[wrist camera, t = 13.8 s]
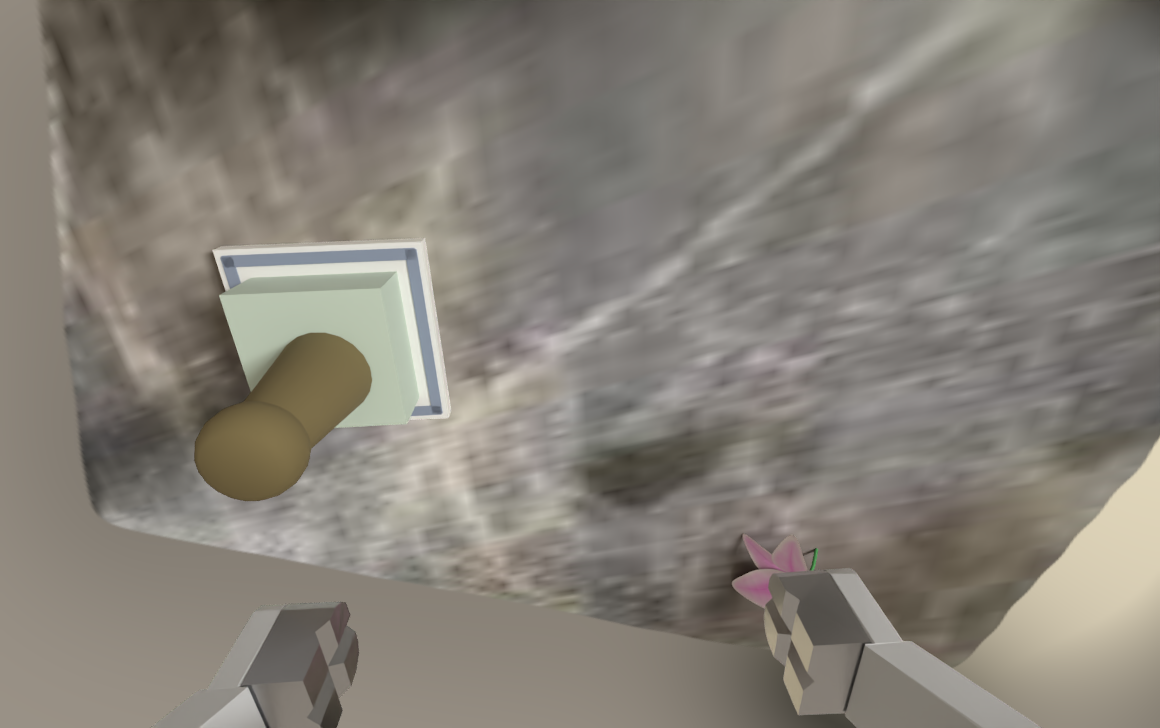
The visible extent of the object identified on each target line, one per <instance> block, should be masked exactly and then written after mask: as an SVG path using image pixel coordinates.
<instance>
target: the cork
mask: <svg viewBox="0 0 1160 728" xmlns="http://www.w3.org/2000/svg"><path fill="white" fill-rule="evenodd" d="M371 384H372V376H371V370H370V366H369V364H368V363H367V361H366V359H365V357H364V355H363V354H362V353H361V352H360V351H359V350H358V349H357V348H356V347H355V346H354V345H353V344H351V343H350V342H348V341H346V340H345V339H343V338H341V337H339V336H336V335H332V334H328V333H307V334H304V335H301V336H298V337H296V338H295V339H294V340H292V341H291V342H290V343H289V344H287V345H286V347H285V348H284V349H283V351H282V352H281V353H280V355H279V356H278V357H277V359H276V360H275V361H274V363H273V364H272V365H271V367H270V368H269V369H268V370H267V372H266V373H265V374H264V376H263V377H262V378H261V380H260V381H259V382H258V384H257V385H256V386H255V388H254V389H253V390H252V392H251V393H250V394H249V395H248V397H247V398H246V399H245V401H244V402H242V403H238V404H235V405H232V406H230V407H227V408H224V409H222V410H221V411H220V412H219V413H217V414H216V415H215V416H214V417H212V418H211V419H210V420H209V421H207V422H206V423H205V424H204V426H203V428H202V430H201V431H200V433H199V435H198V437H197V439H196V441H195V453H194V461H195V463H196V466H197V469H198V472H199V473H200V475H201V476H202V477H203V479H204V480H205V481H206V483H208V484H209V485H210V486H211V487H213V488H214V489H215V490H216V491H218V492H220V493H222V494H224V495H226V496H228V497H230V498H234V499H238V500H243V501H260V500H265V499H268V498H272V497H275V496H278V495H280V494H282V493H283V492H284V491H286V490H287V489H289V488H290V487H291V486H293V485H294V484H296V483H297V481H298V480H299V478H300V477H301V475H302V474H303V472H304V471H305V469H306V467H307V466H308V462H309V459H310V452H311V448H313V447H314V446H315V445H316V444H317V443H318V442H319V441H320V440H321V439H323V438H324V437H325V436H326V435H327V434H328V433H329V432H330V431H331V430H333V429H334V428H335V427H336V426H337V425H338V424H339V423H340V422H341V421H343V420H344V419H345V418H346V417H347V416H348V415H349V414H350V413H351V412H353V411H354V410H355V409H356V408H357V407H358V406H359V405H360V404H362V403H363V402H364V400H365V399H366V397H367V396H368V394H369V392H370V389H371Z"/></svg>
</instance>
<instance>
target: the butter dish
mask: <svg viewBox="0 0 1160 728" xmlns="http://www.w3.org/2000/svg"><path fill="white" fill-rule="evenodd" d="M213 253H214V256H215V260H216V263H217V266H218V269H219V272H220V275H221V278H222V281H223V284H224V287H225V291H226V292H224V293H222V294H221V295H219V297H220V300H221V303H222V306H223V309H224V312H225V315H226V318H227V321H228V324H229V327H230V330H231V333H232V336H233V339H234V342H235V346H236V349H237V352H238V355H239V358H240V361H241V364H242V367H243V370H244V373H245V376H246V379H247V382H248V385H249V388H250V391H251V392H252V390H253V389H254V388H255V386H256V385H257V384H258V382H259V381H260V380H261V378H262V377H263V376H264V374H265V373H266V372H267V370H268V369H269V368H270V367H271V365H272V364H273V363H274V361H275V360H276V359H277V357H278V356H279V355H280V353H281V352H282V351H283V349H284V348H285V347H286V345H287V344H289V343H290V342H291V341H292V340H294V339H295V338H296V337H298V336H301V335H304V334H307V333H328V334H332V335H336V336H339V337H341V338H343V339H345V340H346V341H348V342H350V343H351V344H353V345H354V346H355V347H356V348H357V349H358V350H359V351H360V352H361V353H362V354H363V355H364V357H365V359H366V361H367V363H368V364H369V366H370V370H371V376H372V384H371V389H370V392H369V394H368V396H367V397H366V399H365V400H364V402H363V403H362V404H360V405H359V406H358V407H357V408H356V409H355V410H354V411H353V412H351V413H350V414H349V415H348V416H347V417H346V418H345V419H344V420H343V421H341V422H340V423H339V424H338V425H337V426H336V427H335V428H342V427H361V426H380V425H399V424H407V423H408V421H409V420H420V419H439V418H449V416H450V413H451V405H450V398H449V392H448V385H447V379H446V372H445V366H444V359H443V353H442V346H441V339H440V333H439V326H438V320H437V313H436V307H435V300H434V293H433V287H432V280H431V274H430V267H429V261H428V254H427V247H426V241H425V238H409V239H384V240H360V241H336V242H312V243H287V244H263V245H239V246H221V247H219V248H217V249H214V250H213Z"/></svg>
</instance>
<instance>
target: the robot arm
mask: <svg viewBox="0 0 1160 728" xmlns="http://www.w3.org/2000/svg"><path fill="white" fill-rule="evenodd" d="M768 589H769V591H770V593H771V596H772V599H771V600H770V601H769V602H768V603H767V604H765V612H764V623H765V632H766V636H767V640H768V643H769V646H770V649H771V651H772V654H773V656H774V657H775V658H776V659H777V660H778V661H780V662H781V663H782V664H783V665H784V666H785V673H784V678H783V680H784V682H785V685H786V687H787V690H788V692H789V695H790V697H791V699H792V702H793V704H794V707H795V709H796V711H797V714H798V715H812V714H813V715H814V714H835V713H846V714H845V716H846V717H847V718H848V719H849V720H850V721H851V722H852V723H853V724H854V725H855V726H856V727H857V728H1042V727H1040V726H1039V725H1037V724H1036V723H1034V722H1033V721H1031V720H1030V719H1028V718H1027V717H1025V716H1023V715H1022V714H1021V713H1019V712H1017V711H1016V710H1015V709H1013V708H1012V707H1010V706H1008V705H1007V704H1005V703H1004V702H1002V701H1001V700H999V699H998V698H996V697H995V696H993V695H992V694H990V693H989V692H987V691H986V690H984V689H983V688H981V687H980V686H978V685H977V684H975V683H974V682H972V681H971V680H969V679H968V678H966V677H965V676H963V675H962V674H960V673H959V672H957V671H956V670H954V669H953V668H951V667H950V666H948V665H947V664H945V663H944V662H942V661H941V660H939V659H937V658H936V657H934V656H933V655H931V654H930V653H928V652H927V651H925V650H924V649H922V648H921V647H919V646H918V645H916V644H915V643H913V642H912V641H902V639H901V638H900V636H899V635H898V633H897V632H896V630H895V629H894V627H893V626H892V624H891V623H890V622H889V620H888V619H887V617H886V616H885V614H884V613H883V611H882V610H881V608H880V607H879V605H878V604H877V602H876V601H875V600H874V598H873V597H872V595H871V594H870V592H869V591H868V589H867V588H866V586H865V585H864V583H863V582H862V580H861V579H860V577H859V576H858V575H857V573H856V572H855V571H854V570H852V569H851V568H843V569H828V570H811V571H798V572H785V573H773V574H772V576H771V577H770V579H769V585H768ZM349 617H350V613H349V610H348V607H347V604H346V603H345V602H324V603H300V604H299V603H298V604H281V605H261V606H260V607H259V608H258V609H256V610H255V611H254V612H253V613H252V615H251V616H250V618H249V620H248V621H247V623H246V625H245V626H244V628H243V630H242V631H241V633H240V635H239V637H238V638H237V640H236V641H235V643H234V645H233V647H232V648H231V650H230V652H229V653H228V655H227V656H226V658H225V660H224V662H223V663H222V665H221V667H220V668H219V670H218V671H217V673H216V675H215V676H214V678H213V680H212V681H211V683H210V685H209V687H208V688H207V689H204V690H197V691H196V692H195V693H194V694H193V695H191V696H190V697H189V698H187V699H186V700H185V701H184V702H182V703H181V704H180V705H179V706H177V707H176V708H175V709H173V710H172V711H171V712H169V713H168V714H167V715H166V716H164V717H163V718H162V719H161V720H159V721H158V722H157V723H156V724H154V725H153V726H152V727H151V728H337V726H338V722H339V720H340V717H341V714H342V707H341V704H340V701H339V698H340V697H341V696H342V695H343V694H344V693H345V692H346V691H347V690H348V689H349V688H350V687H351V685H352V682H353V679H354V676H355V673H356V669H357V662H358V656H359V648H358V639H357V636H356V633H355V631H354V630H352V629H351V628H350V627H348V626H347V622H348V620H349Z"/></svg>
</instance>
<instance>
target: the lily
mask: <svg viewBox="0 0 1160 728" xmlns="http://www.w3.org/2000/svg"><path fill="white" fill-rule="evenodd" d="M743 539H744V543H745V545H746V547H747V550H748V552H749V554H750V556H751V558H752V560H753V561H754V563H755V565H756V566H757V568H758V569H759V570H754V571H751V572H749V573H747V574H744V575H742V576H740V577H738V578H736V579H735V580H733V581H732V586H733V588H734V589H735V590H736V591H737V592H739V593H740V594H741V595H743V596H744V597H745V598H747V599H748V600H750V601H752V602H753V603H755V604H757V605H759V606H761V607H763V608H765V604H767V603H768V602H769V601H770V600H771V599H772V596H771V593H770V591H769V589H768V585H769V579H770V577H771V576H772V574H773V573H785V572H798V571H808V570H807V567H806V564H805V561H804V557H803V554H802V551H801V548H800V545H799V543H798V540H797V538H796V537H795V536H794V535H789V536H788V537H786V538H785V539H784V540H783V541H782V542H781V543H780V544H779V546H778V547H777V548H776V549H775V551H774V552H773V554H771V553H769V552H768V551H767V550H765V549H764V548H763V547H762V546H760V545H759V544H758V543H756V542H755V541H754V540H753V539H751V538H750V537H749V536H747V535H746V534H744V533H743ZM817 553H818V549H817V548H816V549H815V550H814V557H813V561H812V566H811V568H810V571H811V570H814V568H815V564H816V559H817Z"/></svg>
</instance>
